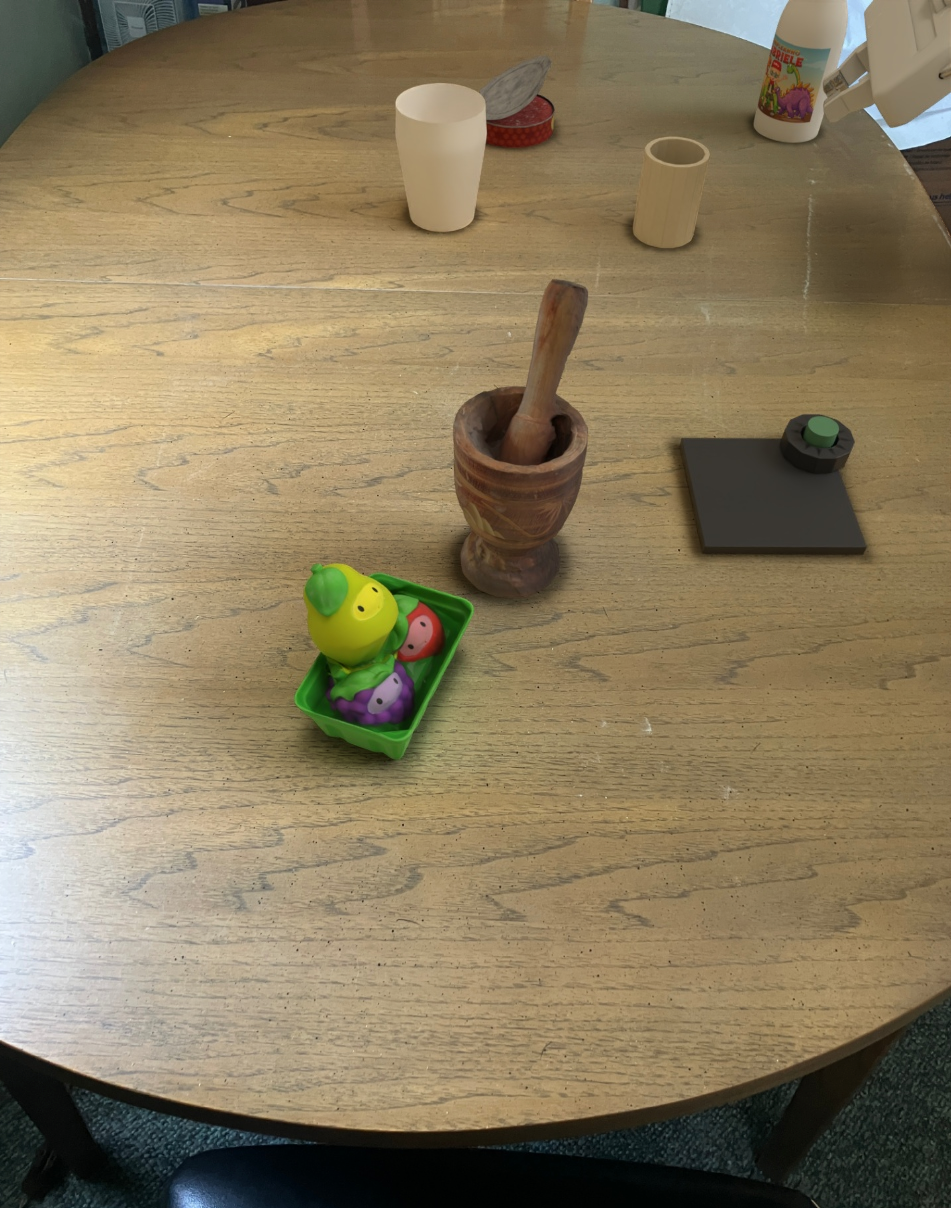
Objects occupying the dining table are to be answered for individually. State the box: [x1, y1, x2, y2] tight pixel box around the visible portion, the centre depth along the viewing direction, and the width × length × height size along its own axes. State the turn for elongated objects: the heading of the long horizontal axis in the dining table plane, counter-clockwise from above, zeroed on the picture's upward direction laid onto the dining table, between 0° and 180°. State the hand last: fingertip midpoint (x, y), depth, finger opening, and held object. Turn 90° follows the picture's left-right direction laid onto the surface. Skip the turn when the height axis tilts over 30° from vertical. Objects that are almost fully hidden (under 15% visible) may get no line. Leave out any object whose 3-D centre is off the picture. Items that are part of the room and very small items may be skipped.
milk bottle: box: [753, 0, 849, 144], centre depth 107 cm, size 8×8×20 cm
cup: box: [394, 82, 487, 233], centre depth 96 cm, size 9×9×12 cm
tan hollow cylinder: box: [632, 136, 711, 249], centre depth 95 cm, size 6×6×9 cm
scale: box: [679, 413, 868, 555], centre depth 74 cm, size 13×13×3 cm
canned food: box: [478, 55, 556, 149], centre depth 111 cm, size 11×10×10 cm
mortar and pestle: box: [452, 278, 589, 599], centre depth 63 cm, size 12×9×20 cm
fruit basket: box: [293, 562, 475, 761], centre depth 58 cm, size 11×9×11 cm
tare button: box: [803, 416, 839, 448], centre depth 75 cm, size 2×2×1 cm
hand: (825, 102), depth 86 cm, fingers open, 3 cm apart
